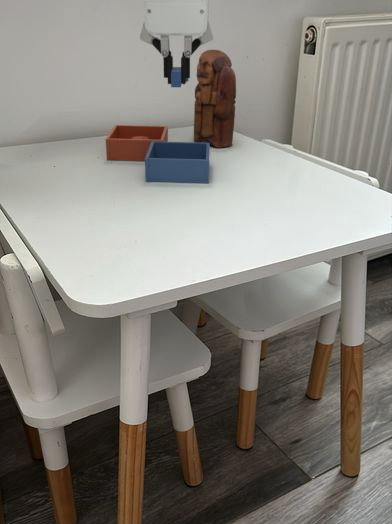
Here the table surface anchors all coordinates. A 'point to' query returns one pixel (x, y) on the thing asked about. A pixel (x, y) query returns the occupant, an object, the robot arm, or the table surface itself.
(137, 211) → the table surface
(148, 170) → the blue bin
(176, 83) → the blue curved block
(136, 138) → the red curved block
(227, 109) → the wooden figurine
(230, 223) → the table surface
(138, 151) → the red bin
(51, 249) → the table surface
